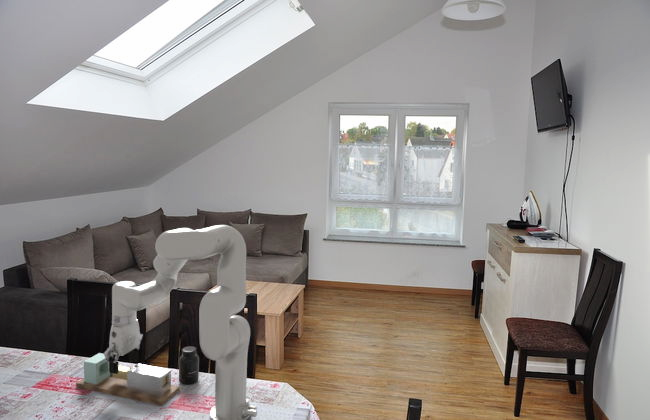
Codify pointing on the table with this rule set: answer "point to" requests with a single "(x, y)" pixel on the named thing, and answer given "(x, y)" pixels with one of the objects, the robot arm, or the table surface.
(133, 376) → the steel sleeve
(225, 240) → the robot arm
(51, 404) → the table surface
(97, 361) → the sage socket block
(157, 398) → the walnut base board
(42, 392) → the table surface
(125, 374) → the brass inner tube
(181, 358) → the supplement bottle
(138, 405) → the table surface
